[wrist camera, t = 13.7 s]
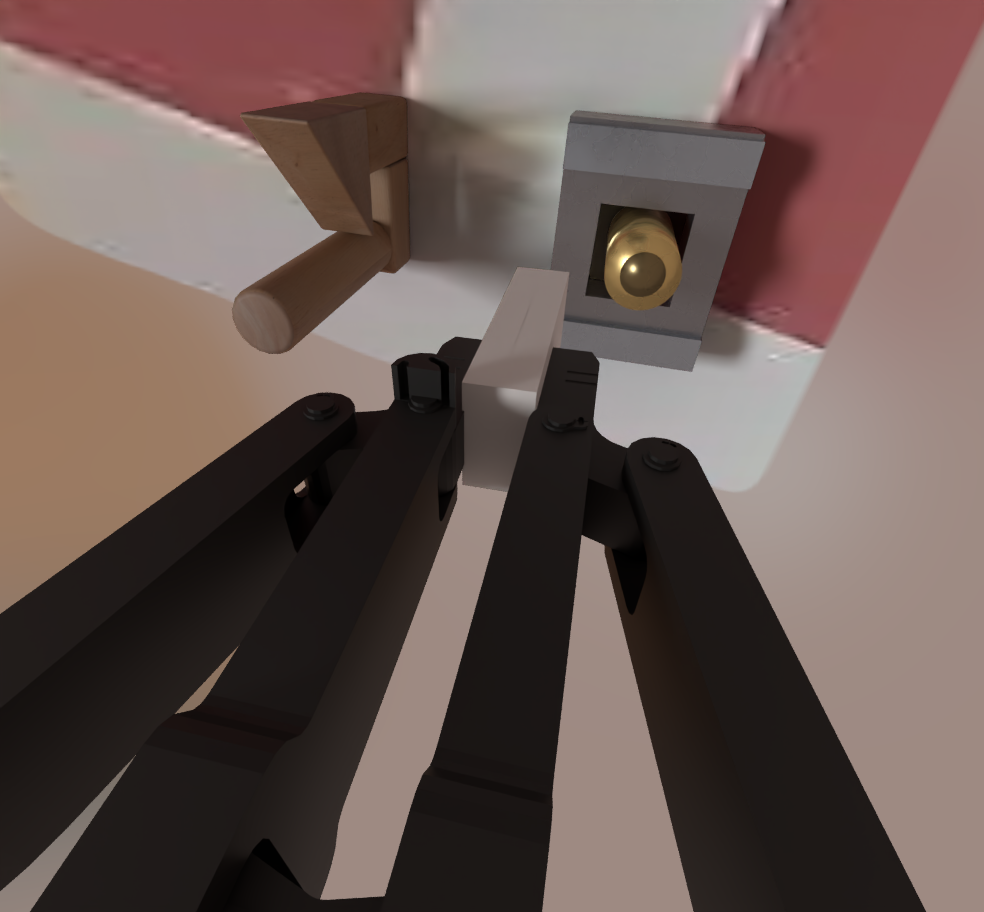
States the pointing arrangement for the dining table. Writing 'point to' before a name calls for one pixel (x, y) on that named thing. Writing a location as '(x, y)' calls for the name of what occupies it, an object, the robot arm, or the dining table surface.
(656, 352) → the jig
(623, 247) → the bushing
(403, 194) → the brown wooden stand
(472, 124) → the dining table surface
